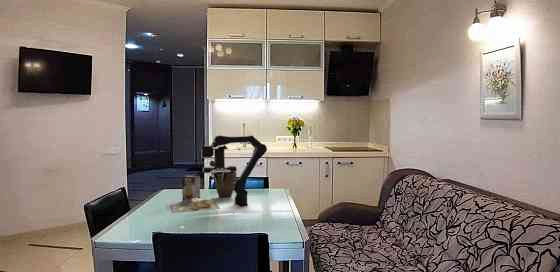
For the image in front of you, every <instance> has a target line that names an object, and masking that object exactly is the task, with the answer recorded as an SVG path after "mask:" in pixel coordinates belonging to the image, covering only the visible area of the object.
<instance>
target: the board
mask: <svg viewBox="0 0 560 272" xmlns="http://www.w3.org/2000/svg"><path fill="white" fill-rule="evenodd" d="M169 207H170V211H171V214H175V213H176V214H177V213H189V212H199V211H200V212H201V211H212V210H221V207H220V206H219V205H218V204H217V203H216V201H211V206H209V207H200V209H194V208H193V206H192V202H189V203H180V204H179V203H178V204H177V203H176V204H169Z"/></svg>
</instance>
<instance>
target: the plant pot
mask: <svg viewBox="0 0 560 272" xmlns="http://www.w3.org/2000/svg"><path fill="white" fill-rule="evenodd" d="M228 172H229V173H227V175H226V177H225V180H224V182H223V184H222V171H216V173H217V177H218V185H217V183H216V180H215V177H214V175H213V174H212V176H213V181H214V186H215V190H216V192H217V193H216V194H217V195H218V198H219V199H224V198H232V196H233V193H234V190H233V189H232V185H233V184H232V183H233V182H234V180H235V178H237V171H235V172H231V171H230V170H229V171H228Z"/></svg>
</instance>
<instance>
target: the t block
mask: <svg viewBox="0 0 560 272" xmlns="http://www.w3.org/2000/svg"><path fill="white" fill-rule="evenodd" d="M211 202H212V199H211V198H210V197H209V198H208V197H207V198H200V199H198V198H192V202H191V203H192V206H193V208H194V209H200V207H209V206H211Z"/></svg>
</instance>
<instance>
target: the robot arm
mask: <svg viewBox="0 0 560 272" xmlns="http://www.w3.org/2000/svg"><path fill="white" fill-rule="evenodd" d="M238 143H239V144H241V143H249V144H250V145H251V146H252V147H253V148H254V149H253V151H252V156H250V159H249V161H248V162H247V164H246V165H245V167H244V169H243V171H242V173H241V174H240V176H239V177H236V178H235V180H234V182H233V183H232V184H233V185H232V189H233V192H235V196H234V204H235V205H237V206H238V207H244V206H245V207H246V206H249V205H248V193H249V192H248V191H247V190H246V184H247V180H248V178H249V176H250V175H251V173H252V171H253V170H254V168H255V167H256V165H257V163H258V161H259V160H260V159H261V158H262V157H263V156H264V155H265V153H266V152H267V151H268V147H267V145H266V144H265V143H262V142H260V141H259V140H258V139H257V138H255V136H254V135H250V134H249V135H241V136H239V135H238V136H228V135H220V134H219V135H217V134H216V135H215V137H214V138H213V141H212V143H211V144H210V145H201V150H200V158H202V159H204V158H205V159H207V158H208V159H209V158H212V157H213V156H214V160H210V163H209V164H210V166H203V167H202V173H204V174H209V173H210V174H211V175H212V176H213V175H214V176H213V178H214V177H215V180H216V183H217V185H218V177H217V173H216V172H221V171H222V184H223V182H224V180H225V177H226V175H227V173H229V172H228V171H231V172H237V167H236V165H228V166H226V163H225V162H226V161H225V156H226V155H225V150H229V148H228V147H227V146H226V145H229V144H238Z"/></svg>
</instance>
